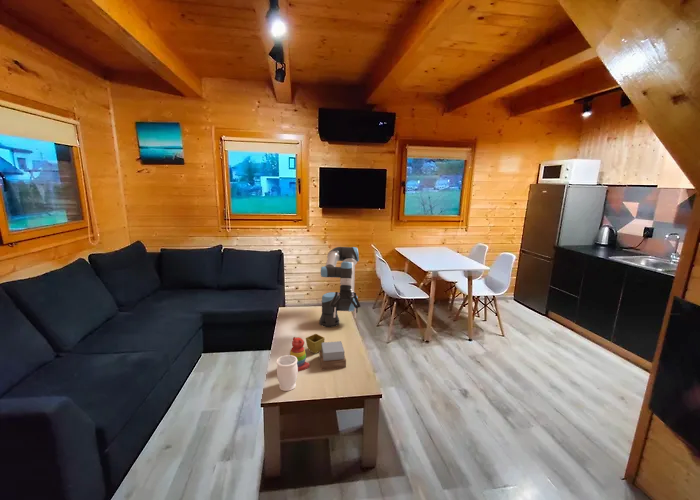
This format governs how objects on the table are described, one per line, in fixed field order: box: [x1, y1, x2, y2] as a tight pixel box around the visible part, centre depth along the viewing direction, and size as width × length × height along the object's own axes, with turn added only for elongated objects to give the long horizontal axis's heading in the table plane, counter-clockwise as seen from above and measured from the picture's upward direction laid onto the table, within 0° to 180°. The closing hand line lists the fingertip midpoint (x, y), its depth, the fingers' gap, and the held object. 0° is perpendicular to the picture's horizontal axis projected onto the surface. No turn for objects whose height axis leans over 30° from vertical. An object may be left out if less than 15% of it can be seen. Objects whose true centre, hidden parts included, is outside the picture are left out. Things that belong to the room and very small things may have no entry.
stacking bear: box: [289, 337, 311, 372], centre depth 179 cm, size 11×10×18 cm
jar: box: [276, 354, 299, 392], centre depth 161 cm, size 11×10×15 cm
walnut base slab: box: [318, 350, 347, 371], centre depth 185 cm, size 14×14×5 cm
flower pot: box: [305, 333, 325, 354], centre depth 197 cm, size 9×9×9 cm
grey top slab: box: [322, 340, 345, 361], centre depth 184 cm, size 12×12×5 cm
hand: (344, 317), depth 202 cm, fingers open, 13 cm apart
